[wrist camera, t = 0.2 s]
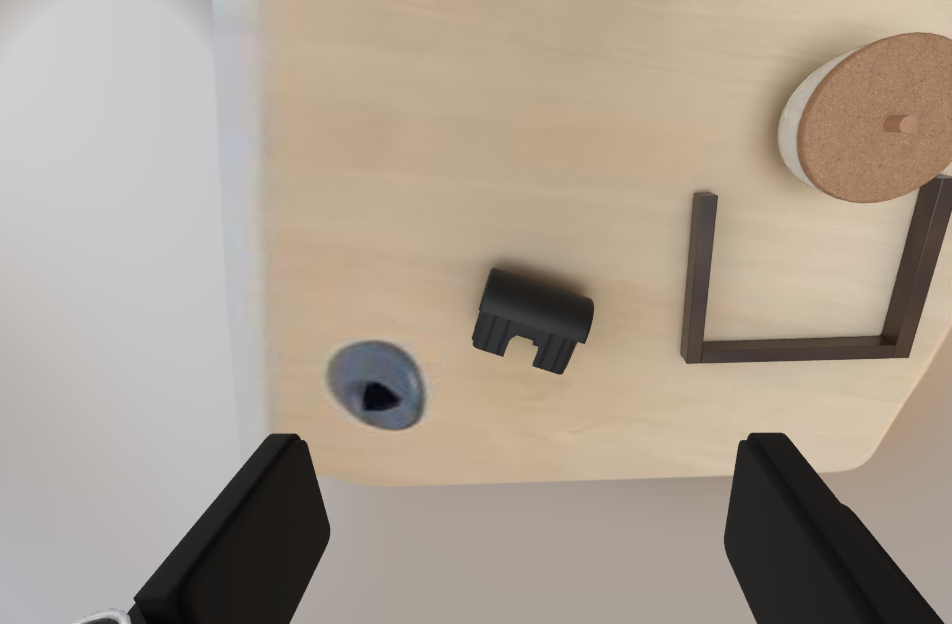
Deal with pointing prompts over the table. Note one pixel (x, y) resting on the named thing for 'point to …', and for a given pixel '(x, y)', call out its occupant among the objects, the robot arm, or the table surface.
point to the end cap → (532, 319)
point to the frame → (894, 343)
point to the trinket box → (872, 120)
